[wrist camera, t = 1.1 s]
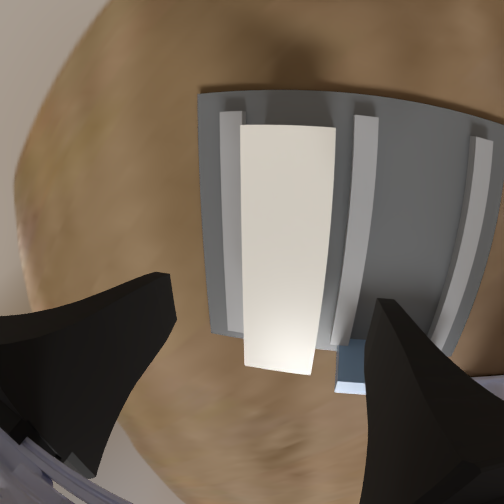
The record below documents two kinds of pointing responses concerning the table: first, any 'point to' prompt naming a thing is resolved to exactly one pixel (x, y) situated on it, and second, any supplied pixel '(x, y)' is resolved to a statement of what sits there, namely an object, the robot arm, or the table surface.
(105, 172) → the table surface
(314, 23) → the table surface
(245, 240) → the cream rectangular block
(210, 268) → the board
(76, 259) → the table surface
